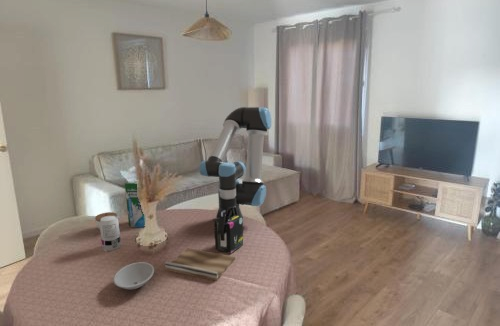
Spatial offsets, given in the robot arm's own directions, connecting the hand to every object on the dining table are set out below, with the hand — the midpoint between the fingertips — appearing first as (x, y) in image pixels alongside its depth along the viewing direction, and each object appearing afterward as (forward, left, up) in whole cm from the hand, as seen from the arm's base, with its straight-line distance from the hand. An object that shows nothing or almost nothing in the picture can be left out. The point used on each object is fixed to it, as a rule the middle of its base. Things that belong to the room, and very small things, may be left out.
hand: (229, 240), depth 157 cm
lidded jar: (+3, -71, -4) cm, 71 cm away
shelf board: (+18, -5, -4) cm, 19 cm away
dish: (+41, -21, -4) cm, 46 cm away
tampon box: (0, 0, -4) cm, 4 cm away
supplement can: (+19, -53, -4) cm, 57 cm away
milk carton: (-9, -59, -4) cm, 60 cm away
